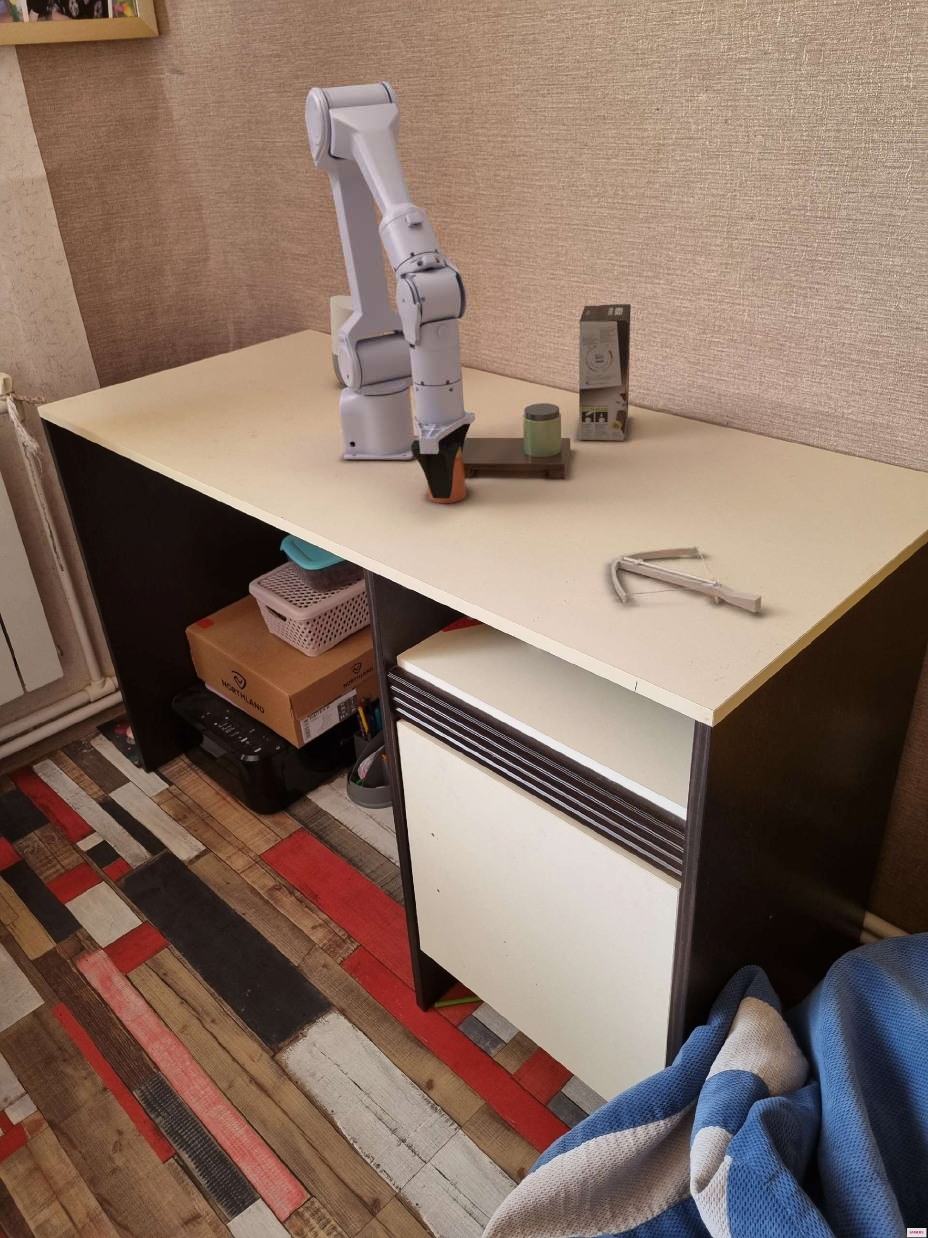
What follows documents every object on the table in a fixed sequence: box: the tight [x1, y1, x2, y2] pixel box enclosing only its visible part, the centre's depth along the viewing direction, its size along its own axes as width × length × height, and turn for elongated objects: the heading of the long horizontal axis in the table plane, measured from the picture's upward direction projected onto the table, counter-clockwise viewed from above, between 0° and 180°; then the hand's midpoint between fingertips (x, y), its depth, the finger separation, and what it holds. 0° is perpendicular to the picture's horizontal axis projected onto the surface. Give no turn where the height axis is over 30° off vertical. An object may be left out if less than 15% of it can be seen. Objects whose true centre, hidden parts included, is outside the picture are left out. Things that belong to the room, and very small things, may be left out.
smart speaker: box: [329, 294, 385, 387], centre depth 154 cm, size 10×9×14 cm
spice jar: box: [426, 447, 467, 504], centre depth 115 cm, size 5×5×6 cm
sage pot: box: [522, 402, 562, 457], centre depth 120 cm, size 5×5×6 cm
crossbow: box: [610, 545, 762, 613], centre depth 93 cm, size 16×13×2 cm
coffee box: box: [578, 303, 632, 442], centre depth 128 cm, size 9×6×16 cm
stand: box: [462, 437, 572, 480], centre depth 123 cm, size 14×9×2 cm, turn 80°
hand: (446, 487), depth 116 cm, fingers open, 5 cm apart
